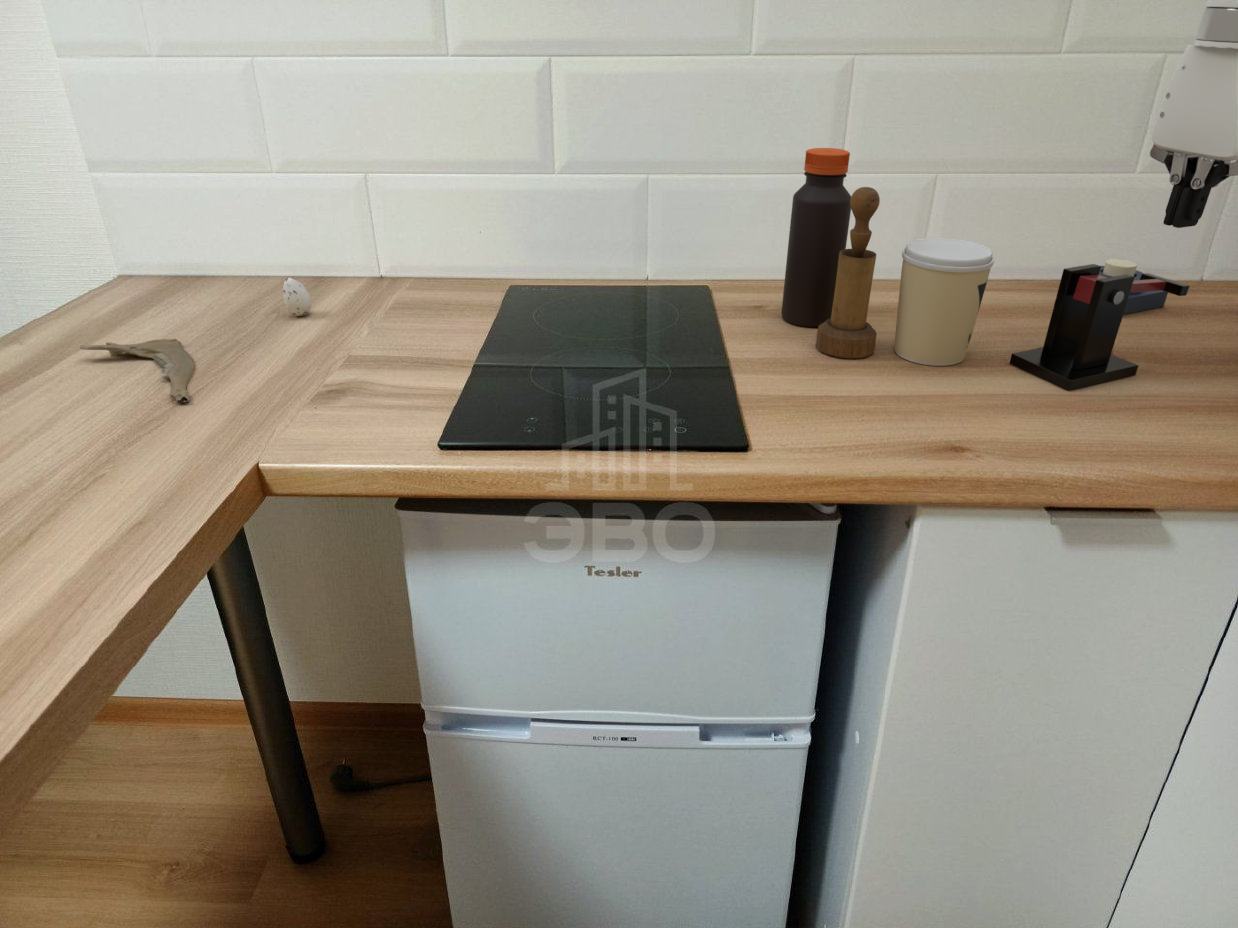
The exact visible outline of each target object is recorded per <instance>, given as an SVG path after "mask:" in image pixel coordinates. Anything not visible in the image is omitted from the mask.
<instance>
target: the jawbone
mask: <svg viewBox="0 0 1238 928" xmlns="http://www.w3.org/2000/svg"><path fill="white" fill-rule="evenodd" d="M79 349H80V350H86V351H108V352H109V355H110V357H112V358H113V357H119V356H120V355H122V354H123V353H124V354H129V355H133V356H138V357H141V358H147V359H153V361H154V362H155V363H157V364H158V365H159V366H161V367H162V369H163V370H162V372H161V375H160V376H161V378H162V379H169V380H170V386H171V389H170V392H169V394H170V395H171V396H173V397H174V399H175V401H176V403H184V404H185V403H187V402H189V400H190V395H189V393H188V391H187V388H188V384H189V382H190V381H191V378H192V376H193V374H194V372H195V369H196V362H195V360H194V358H193V357H192V356H191V355H190V353H189V351H187V350H186V349H184V348H183V347H182V342H181V341H180V340H178V339H177V338H163V339H151V340H148V341H143V342H139V343H132V344H119V343H115V342H105V344H90V345H84V344H81V345H80V346H79Z"/></svg>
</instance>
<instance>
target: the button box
mask: <svg viewBox="0 0 1238 928" xmlns="http://www.w3.org/2000/svg"><path fill="white" fill-rule="evenodd" d="M1100 266H1101V269H1100V272H1099V275H1100V276H1103V277H1106V278H1109V277H1112V276H1108V275H1105V274H1103V270H1104V266H1105V265H1100ZM1142 274H1144V272H1143V271H1139V270H1138V269H1136V271H1135V274H1134V281H1135V280H1140V277H1141V275H1142ZM1168 295H1169V293H1168V292H1165V291H1149V292H1136V293H1130V294H1129V297H1128V301H1127V304H1126V307H1125V310H1124V314H1123V316H1124V315H1129V314H1134V313H1138V312H1143V311H1148V310H1154V309H1159V308H1163V307H1164V306H1165V303H1166V300H1167V296H1168Z"/></svg>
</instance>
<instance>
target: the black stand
mask: <svg viewBox="0 0 1238 928" xmlns="http://www.w3.org/2000/svg"><path fill="white" fill-rule="evenodd" d="M1101 266H1102V265H1099V264H1095V263H1092V264H1084V265H1078V266H1071V267H1065V268H1063V269H1062V273H1061V278H1060V282H1059V284H1058V289H1057V293H1056V296H1055V299H1054V303H1053V309H1052V312H1051V316H1050V320H1049V323H1048V327H1047V331H1046V334H1045V339H1044V343H1043V346H1042V347H1037V348H1033V349H1028V350H1022V351H1017V352H1012V353H1011V355H1010V359H1009V365H1012V366H1014V367H1015V368H1019V369H1020V370H1023V371H1025V372H1027V373H1029V374H1031V375H1033V376H1035V377H1038V378H1039V379H1041V380H1044V381H1047V382H1048V383H1050V384H1052V385H1055V386H1057V387H1059V388H1061V389H1064V390H1065V391H1068V392H1069V391H1074V390H1079V389H1083V388H1086V387H1091V386H1095V385H1100V384H1103V383H1109V382H1112V381H1116V380H1121V379H1126V378H1131V377H1135V376H1136V375H1137V372H1138V369H1139V364H1137V363H1136V362H1132V361H1130V360H1127V359H1124V358H1122V357H1120V356H1117V355H1115V354H1112V353H1113V349H1114V347H1115V343H1116V340H1117V337H1118V334H1119V330H1120V327H1121V323H1122V320H1123V317H1124V315H1125V314H1124V310H1125V307H1126V304H1127V301H1128V297H1129V294H1130V291H1131V287H1132V284H1133V281H1134V276H1130V275H1127V274H1126V275H1120V276H1114V277H1109V278H1103V279H1097V280H1096V283H1095V286H1094V290H1093V293H1092V297H1091V300H1090V304H1087V303H1084V302H1082V301H1079V300H1076V299H1073V295H1074V292H1075V289H1076V286H1077V283H1078V280H1079V277H1080V276H1089V275H1099V272H1100V269H1101ZM1123 314H1124V315H1123Z"/></svg>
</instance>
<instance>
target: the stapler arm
mask: <svg viewBox="0 0 1238 928" xmlns="http://www.w3.org/2000/svg"><path fill="white" fill-rule="evenodd" d="M1143 273H1144V272H1143ZM1103 278H1106V277H1103V276H1100V275H1089V276H1080V277H1079V280H1078V283H1077V286H1076V289H1075V292H1074V295H1073V299H1076V300H1079V301H1082V302H1084V303H1087V304H1090V300H1091V297H1092V293H1093V290H1094V286H1095V283H1096V280H1097V279H1103ZM1189 289H1190V285H1188V284H1185V283H1182V282H1178V281H1176V280H1171V279H1169V278H1166V277H1163V276H1159V275H1156V274H1153V273H1149V272H1146V273H1144V274H1142V275H1141V277H1140V280H1135V281H1133V284H1132V287H1131V291H1130V293H1136V292H1149V291H1165V292H1168V294H1172V295H1175V296H1178V297H1184V296H1187V295H1188V292H1189Z"/></svg>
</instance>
